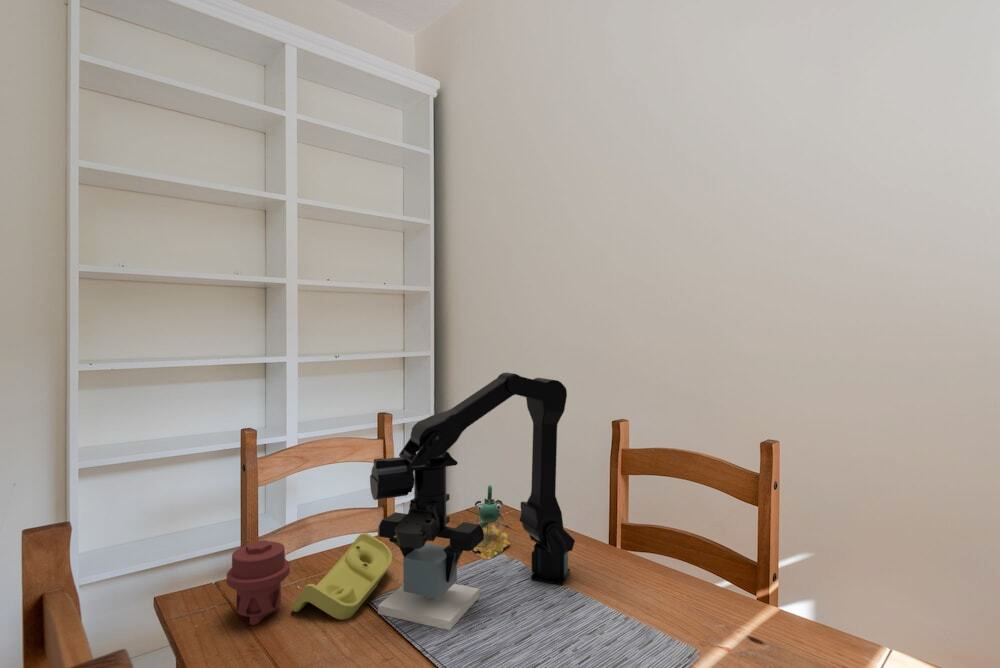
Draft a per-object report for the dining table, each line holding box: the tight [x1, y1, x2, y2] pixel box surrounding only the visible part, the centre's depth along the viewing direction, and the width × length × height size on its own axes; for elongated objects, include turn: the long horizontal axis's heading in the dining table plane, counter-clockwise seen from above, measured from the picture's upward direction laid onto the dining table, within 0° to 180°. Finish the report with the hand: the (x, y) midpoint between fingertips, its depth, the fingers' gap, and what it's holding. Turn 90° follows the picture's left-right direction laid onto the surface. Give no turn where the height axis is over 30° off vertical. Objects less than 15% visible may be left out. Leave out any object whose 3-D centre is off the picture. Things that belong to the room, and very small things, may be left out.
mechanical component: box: [226, 539, 291, 626], centre depth 93 cm, size 12×10×10 cm
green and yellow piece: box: [473, 484, 511, 560], centre depth 124 cm, size 10×18×15 cm, turn 177°
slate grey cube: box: [402, 542, 458, 599], centre depth 96 cm, size 7×7×6 cm
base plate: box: [377, 583, 480, 631], centre depth 96 cm, size 14×12×4 cm
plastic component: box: [290, 532, 393, 621], centre depth 101 cm, size 20×8×10 cm
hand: (430, 577), depth 96 cm, fingers closed on slate grey cube, 7 cm apart
